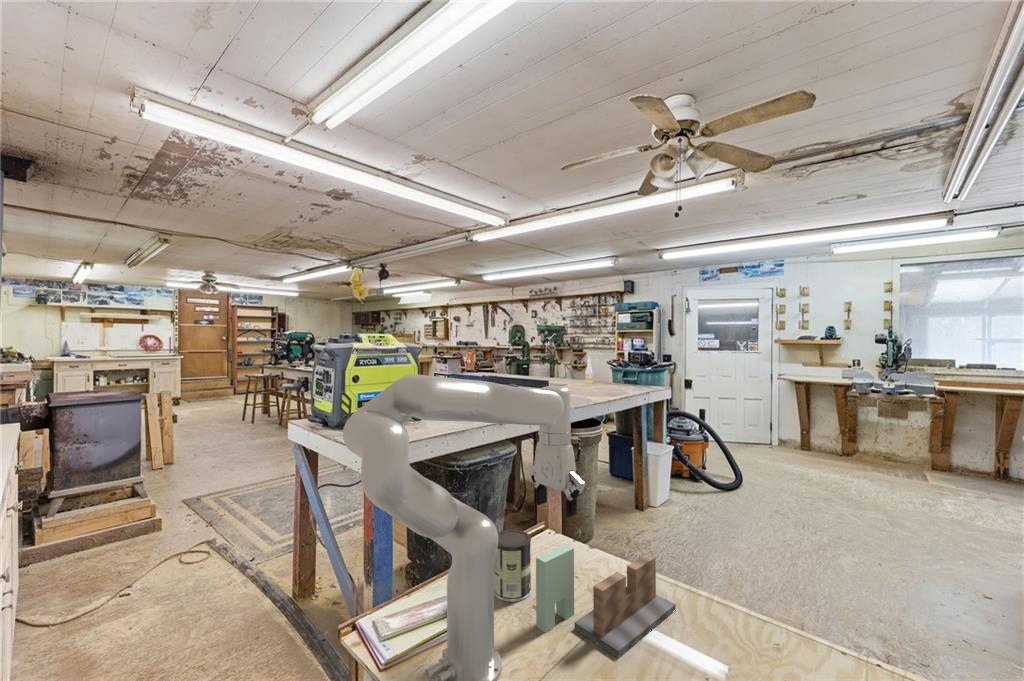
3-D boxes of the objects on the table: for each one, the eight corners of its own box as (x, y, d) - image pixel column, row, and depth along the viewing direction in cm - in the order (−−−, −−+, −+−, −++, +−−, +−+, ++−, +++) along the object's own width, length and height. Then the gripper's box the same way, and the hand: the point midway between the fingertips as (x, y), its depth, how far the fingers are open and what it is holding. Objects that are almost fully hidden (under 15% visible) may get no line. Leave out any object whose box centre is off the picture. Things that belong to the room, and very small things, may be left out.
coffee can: (520, 576, 118) (520, 526, 118) (538, 596, 109) (537, 542, 109) (487, 585, 114) (486, 533, 114) (501, 606, 105) (501, 550, 105)
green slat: (574, 614, 101) (573, 548, 102) (545, 632, 95) (545, 562, 95) (565, 608, 104) (564, 543, 104) (536, 626, 97) (535, 557, 97)
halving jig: (618, 658, 87) (618, 603, 87) (574, 628, 96) (574, 578, 96) (675, 610, 103) (675, 563, 103) (633, 588, 112) (632, 545, 112)
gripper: (519, 434, 104) (520, 503, 104) (572, 447, 91) (573, 525, 91) (540, 430, 109) (541, 495, 109) (593, 441, 96) (594, 516, 96)
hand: (555, 509), depth 100 cm, fingers open, 9 cm apart
